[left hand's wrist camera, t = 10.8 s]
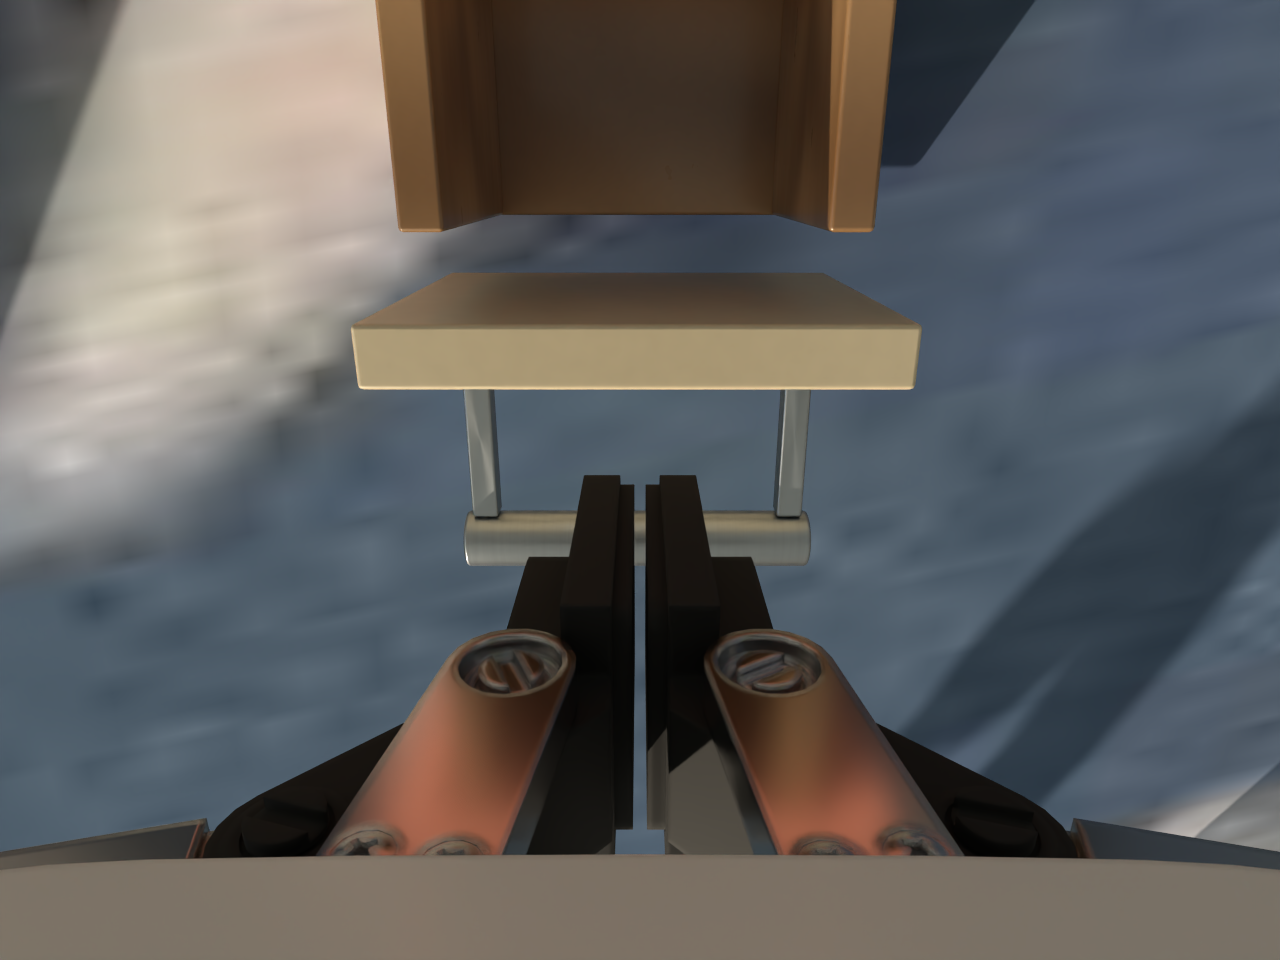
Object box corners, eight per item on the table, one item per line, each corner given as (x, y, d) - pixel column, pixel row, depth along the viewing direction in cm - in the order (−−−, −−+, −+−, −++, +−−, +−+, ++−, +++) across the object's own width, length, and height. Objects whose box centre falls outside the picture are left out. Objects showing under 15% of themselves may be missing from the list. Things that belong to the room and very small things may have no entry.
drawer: (807, 494, 24) (885, 640, 17) (467, 494, 24) (388, 641, 17) (898, -648, 16) (1142, -1424, 8) (375, -648, 16) (126, -1424, 8)
